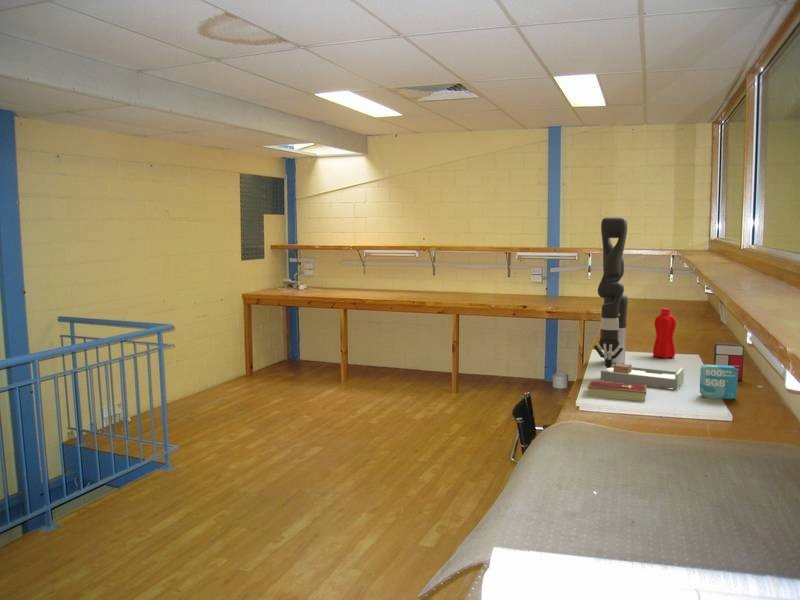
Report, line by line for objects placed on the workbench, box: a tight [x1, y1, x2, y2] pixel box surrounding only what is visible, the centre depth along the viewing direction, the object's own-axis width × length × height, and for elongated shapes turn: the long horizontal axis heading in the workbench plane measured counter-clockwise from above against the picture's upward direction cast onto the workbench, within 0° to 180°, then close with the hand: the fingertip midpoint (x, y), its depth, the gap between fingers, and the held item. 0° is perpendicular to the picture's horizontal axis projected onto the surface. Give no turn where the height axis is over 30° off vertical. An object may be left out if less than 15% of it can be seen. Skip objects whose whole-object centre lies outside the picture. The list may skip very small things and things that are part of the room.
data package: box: [699, 364, 739, 400], centre depth 235 cm, size 12×4×12 cm, turn 76°
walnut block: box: [613, 363, 633, 374], centre depth 267 cm, size 6×6×3 cm
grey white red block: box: [712, 342, 745, 381], centre depth 267 cm, size 11×4×15 cm, turn 70°
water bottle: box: [652, 307, 677, 359], centre depth 318 cm, size 9×11×25 cm
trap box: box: [599, 364, 685, 390], centre depth 263 cm, size 17×30×6 cm, turn 57°
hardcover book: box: [587, 380, 648, 402], centre depth 239 cm, size 12×21×4 cm, turn 68°
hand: (608, 367), depth 270 cm, fingers closed
